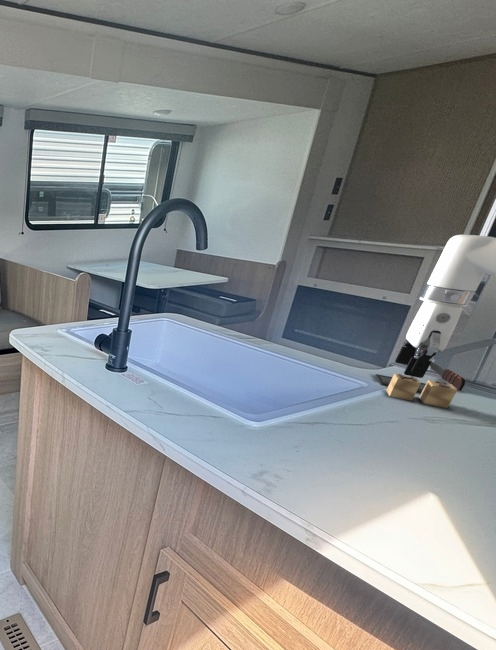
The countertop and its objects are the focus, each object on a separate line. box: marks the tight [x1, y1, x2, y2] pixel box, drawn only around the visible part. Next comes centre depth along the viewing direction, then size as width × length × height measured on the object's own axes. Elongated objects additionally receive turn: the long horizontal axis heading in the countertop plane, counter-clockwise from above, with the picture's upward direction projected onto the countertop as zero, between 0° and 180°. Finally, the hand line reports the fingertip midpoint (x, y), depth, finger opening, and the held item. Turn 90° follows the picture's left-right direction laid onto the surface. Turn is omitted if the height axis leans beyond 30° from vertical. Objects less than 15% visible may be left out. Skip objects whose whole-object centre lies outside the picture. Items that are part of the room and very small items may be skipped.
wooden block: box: [385, 373, 421, 402], centre depth 100 cm, size 4×4×5 cm
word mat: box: [375, 373, 427, 394], centre depth 107 cm, size 11×8×1 cm
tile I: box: [418, 379, 458, 409], centre depth 97 cm, size 4×4×5 cm
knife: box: [429, 361, 466, 392], centre depth 112 cm, size 17×1×3 cm, turn 159°
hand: (407, 369), depth 98 cm, fingers open, 9 cm apart
